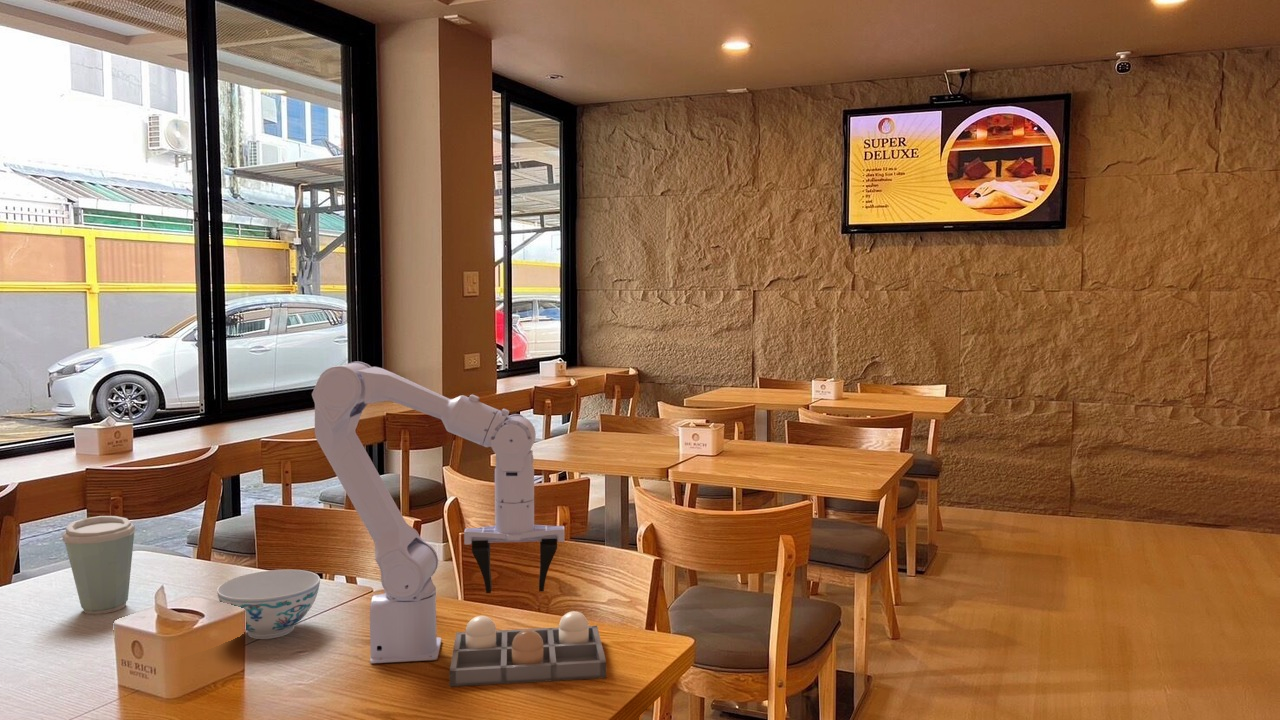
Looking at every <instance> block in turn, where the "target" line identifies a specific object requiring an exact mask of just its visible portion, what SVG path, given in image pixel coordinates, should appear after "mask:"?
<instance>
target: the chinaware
mask: <svg viewBox="0 0 1280 720" xmlns="http://www.w3.org/2000/svg"><path fill="white" fill-rule="evenodd" d="M320 583H321V578H320V576H319V575H318V574H317V573H314V572H312V571H309V570H304V569H303V570H301V569H274V570H263V571H258V572H257V571H256V572H251V573H247V574H242V575H239V576H236V577H233V578H230V579H228V580H227V581H224V582H223V583H221V584H220V585H219V586H217V588H216V594H217V597H218V600H219V603H220V602H223V603H227V604H231V605H234V606H238V607H241V608H244V609H245V610H246V630H245V631H247V636H248V637H250V638H252V639H257V640H269V639H277V638H280V637H283V636H286V635H289V634H290V633H292V632H293V631H294V629H295V628H294V627H295V625H296V624H297V623H298V622H300V621H301V620H302V619H304V618H305V616H306V615H307V614H308V612H309V611H310V610H311V609H312V606H313V604H314V603H315V600H316V598H317V596H318V593H319V589H320V585H321V584H320Z"/></svg>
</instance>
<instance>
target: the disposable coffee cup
mask: <svg viewBox="0 0 1280 720" xmlns="http://www.w3.org/2000/svg"><path fill="white" fill-rule="evenodd" d="M136 531H137V530H136V527H135V525H134V524H133V523H132V521H130V520H129V519H128V518H127V517H122V516H117V515H99V516H98V515H97V516H92V517H85V518H81V519H78V520H75V521H71V522H69V524H68V525H67V526H65V532H63V534H62V539H61V541H62V542H64V544H65V547H66V548H65V549H66V551H67V555H68V559H69V564H70V568H71V572H72V575H73V580H74V583H75V588H76V592H77V595H78V599H79V604H80V607H81V609H82V610H83V612H84V614H86V613H88V614H87V615H92V614H95V615H105V614H108V613H113V612H117V611H120V610H122V609H123V608H125V607H126V605H127V602H128V600H129V593H130V591H129V590H130V581H131V579H130V578H131V570H132V562H133V561H132V559H133V551H134V539H135V532H136Z"/></svg>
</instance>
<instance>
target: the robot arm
mask: <svg viewBox="0 0 1280 720" xmlns="http://www.w3.org/2000/svg"><path fill="white" fill-rule="evenodd" d="M311 397H312V400H313V402H314V437H315V439H316V441H317V443H318V445H319V447H320V448H321V450H322V452H323V454H324V456H325V458H326V459H327V461H328V462H329V464H330V466H331V467H332V470H333V472H334V473H335V476H336V477H337V478H338V480H339V482H340V484H341V486H342V487H343V489H344V491H345V493H346V495H347V496H348V498H349V499H350V501H351V503H352V505H353V507H354V509H355V510H356V513H357V514H358V515H359V518H360V520H361V521H362V523H363V524H364V526H365V528H366V530H367V532H368V534H369V536H370V537H371V539H372V540H373V542H374V560H375V562H376V564H377V565H378V568H379V570H380V581H381V586H382V588H383V590H384V591H385V593H379V594H373V595H372V597H371V601H370V608H369V635H370V636H369V637H370V638H369V645H370V658H369V661H370V664H383V663H385V664H386V663H404V662H405V663H406V662H421V661H423V662H424V661H436V660H438V658H439V655H440V650H441V649H440V648H441V643H442V638H441V637H437V634H438V633H437V595H436V594H437V587H436V585H435V584H434V582H433V580H432V576H433V575H435V573H436V572H437V568H438V565H439V557H438V554H437V551H436V549H434V548H435V547H433V546H432V545H431V544H429V543H428V542H426V540H425V541H424V539H423V538H422V537H421V535H420V534H419V533H418V530H416V529H415V528H414V527H413V526H411V525H409V524H408V523H407V522H406V519H405V518H404V516H403V514H402V513H401V511H400V509H399V507H398V506H397V504H396V502H395V501H394V498H393V496H392V495H391V493H390V491H389V490H388V488H387V486H386V485H385V483H384V481H383V478H382V477H381V475H380V474H379V472H378V470H377V468H376V467H375V465H374V462H373V461H372V459H371V457H370V456H369V454H368V452H367V451H366V449H365V447H364V445H363V443H362V441H361V439H360V437H359V436H358V434H357V432H356V430H357V427H358V424H359V421H360V419H361V417H362V413H363V411H364V410H365V408H366V407H367V406H368V404H375V403H381V402H382V403H383V402H387V401H388V402H392V403H395V404H398V405H400V406H404V407H407V408H409V409H412V410H413V411H417V412H420V413H423V414H426V415H427V416H431V417H434V418H435V419H439V420H441V421H442V424H443V426H444V428H445V430H446V432H448V433H450V434H453V435H454V436H455V435H456V436H458V437H460V438H463V439H464V440H467V441H470V442H472V443H475V444H477V445H479V446H482V447H484V448H491V449H492V451H493V452H494V454H495V468H494V525H491V526H482V527H472V528H464V531H463V539H464V541H463V542H464V544H463V545H467V546H468V545H471V552H472V555H473V557H474V558H475V561H476V563H477V565H478V567H479V571H480V572H481V575H482V578H483V579H482V580H483V581H484V588H485V594H491V593H492V584H493V583H492V571H491V543H524V542H525V543H526V542H528V543H529V542H533V543H535V542H539V543H540V544H539V554H540V555H539V556H540V557H539V559H540V560H539V562H540V564H539V577H538V590H539V591H538V592H545V582H546V578H547V576H548V571H549V569H550V565H551V563H552V560H553V558H554V556H555V554H556V552H557V550H558V543H564V542H565V531H566V530H565V526H564V525H546V524H545V525H543V524H535V468H534V465H533V463H534V454H533V452H534V451H533V450H531V449H532V447H533V446H534V444H535V442H536V435H537V434H536V429H535V427H534V424H533V423H532V422H531V421H530V420H529V419H528V418H526V417H525V416H524V415H522V414H519V413H515V414H511V415H509V414H510V410H509V409H506V408H502V410H500V409H498V408H495V407H493V406H490V405H487V404H486V403H483V402H481V401H479V400H480V397H479V396H478V395H475V394H470V395H469V397H468V396H466V395H464V394H462V395H459V396H456V397H455V398H449V397H446V396H444V395H441V394H440V393H438V392H437V391H433V390H431V389H429V388H427V387H425V386H423V385H420V384H418V383H416V382H414V381H412V380H410V379H407V378H406V377H402V376H401V375H398V374H397V373H395V372H392V371H390V370H387V369H385V368H382V367H379V366H371V365H370V364H368V363H365V362H363V361H351V362H349V363H346V364H343V365H334V366H331V367H328V368H326V369H325V370H323V372H322V373H321V374H320V375H319V377H318V380H317V382H316V383H315V385H314V388H313V391H312V392H311Z"/></svg>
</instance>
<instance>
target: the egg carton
mask: <svg viewBox="0 0 1280 720" xmlns="http://www.w3.org/2000/svg"><path fill="white" fill-rule="evenodd" d="M558 623H559V624H558V627H541V628H525V629H505V630H503V629H502V630H501V629H500V630H499V629H498V630H497V627H496V624H495V622H494V621H493V620H492V619H491V618H490V617H489V616H486V615H477V616H475V617H473V618H471V620H469V621H468V622H467V624H466V627H465V632H464V631H463V632H456V633H455V638H454V643H453V650H452V656H451V661H450V666H449V687H451V688H452V687H453V688H454V687H469V686H488V685H489V686H491V685H503V684H520V683H521V684H522V683H535V682H536V683H537V682H538V683H539V682H556V681H557V682H560V681H575V680H577V681H578V680H588V679H589V680H591V679H606V678H607V661H606V656H605V651H604V648H603V644H602V640H601V639H602V638H601V636H600V633H599V628H598V625H589V621H588V618H587V617H586V616H585V615H584V614H583V613H582V612H581V611H577V610H576V611H574V610H573V611H568V612H566V613H565V614H564V615H562V617H561V618H560V621H559V622H558ZM523 630H533V631H535V632H537V633H538V634H539V635H540V636H541V638H542V640H543V663H542V664H524V665H512V642H513V639H514V637H515V636H516V635H517V634H518V633H519V632H521V631H523Z"/></svg>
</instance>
